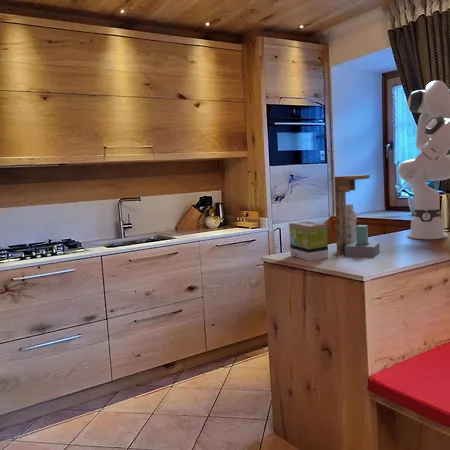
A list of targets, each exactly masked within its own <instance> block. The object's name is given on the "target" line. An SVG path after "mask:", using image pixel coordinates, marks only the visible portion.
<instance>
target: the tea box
mask: <svg viewBox="0 0 450 450" xmlns="http://www.w3.org/2000/svg"><path fill="white" fill-rule="evenodd" d="M288 227H289V228H288V229H289V231H288V232H289V246H290V247H289V248H290V249H289V250H290V256H291V257H296V258H299V259H302V260H305V261H308V262H311V261H313V262H314V261H319V260H325V259H328V258H329V244H328V243H329V241H328V240H329V239H328V223H321V222H316V221H311V220H305V221H299V222H298V221H297V222H291V223H288Z"/></svg>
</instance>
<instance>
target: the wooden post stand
mask: <svg viewBox="0 0 450 450" xmlns="http://www.w3.org/2000/svg"><path fill="white" fill-rule="evenodd" d="M370 176H371V175H370V174H352V175H351V174H350V175H337V176H334V203H335V205H334V207H335V233H336V234H335V235H336V238H335V239H336V256H342V255H343V254H345V246H346V245H347V226H346V205H347V201H346V200H347V199H346V197H347V196H346V193H350V192H351V191H356V180H367V179H370Z"/></svg>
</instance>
